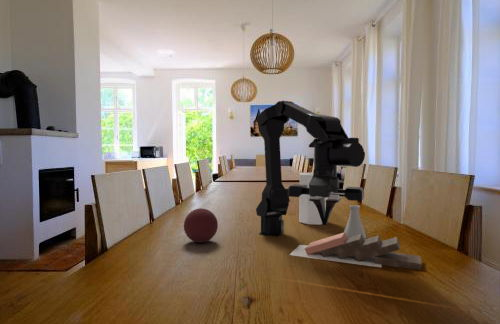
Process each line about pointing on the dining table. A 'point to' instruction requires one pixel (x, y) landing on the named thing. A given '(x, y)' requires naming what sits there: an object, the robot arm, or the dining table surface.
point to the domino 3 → (362, 247)
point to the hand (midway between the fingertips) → (324, 225)
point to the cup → (308, 204)
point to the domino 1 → (326, 243)
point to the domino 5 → (399, 260)
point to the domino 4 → (380, 249)
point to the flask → (354, 223)
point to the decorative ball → (200, 225)
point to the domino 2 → (345, 245)
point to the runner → (333, 257)
